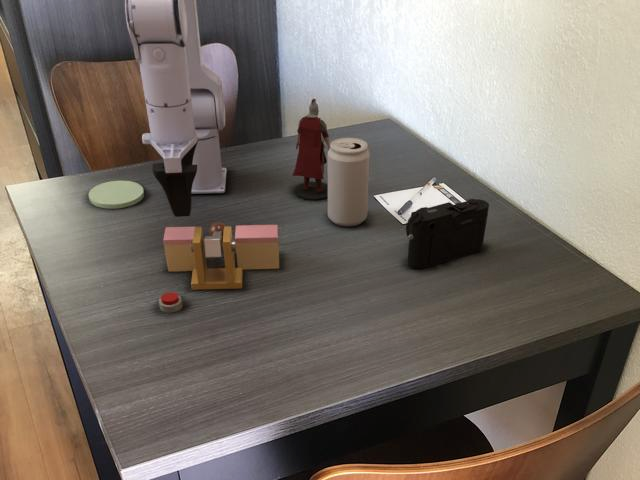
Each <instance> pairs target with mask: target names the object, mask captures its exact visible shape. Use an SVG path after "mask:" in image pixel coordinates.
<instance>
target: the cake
mask: <svg viewBox="0 0 640 480" xmlns="http://www.w3.org/2000/svg"><path fill="white" fill-rule="evenodd" d="M278 229H279V227H278V224H249V225H247V224H246V225H245V224H244V225H242V224H241V225H235V233H234V241H235V242H236V251H235V253H236V263H237V264H236V265H237V268H242V271H243V270H245V271H246V270H271V269H272V270H276V269H277V270H278V269H280V248H279V230H278Z"/></svg>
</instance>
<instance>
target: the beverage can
mask: <svg viewBox="0 0 640 480" xmlns="http://www.w3.org/2000/svg"><path fill="white" fill-rule="evenodd" d="M329 144H330V149H329V151H328V150H327V185H328V198H327V217H328V219H329V220H330V221H332V222H333V223H334V224H336V225H338V226H342V227H355V226H358V225H360V224H362V223H363V222H364V221H365V220H366V219H367V217H368V211H369V187H370V186H369V184H370V183H369V182H370V159H371V158H370V157H371V156H370V155H371V153H370V150H369V149H368V146H369V145H368V143H367V141H365V140H363V139H361V138H356V137H341V138H337V139H334V140H332V141H331V142H329Z"/></svg>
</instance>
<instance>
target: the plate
mask: <svg viewBox="0 0 640 480" xmlns="http://www.w3.org/2000/svg"><path fill="white" fill-rule="evenodd" d="M144 198H145V190H144V187H143V186H142V185H141V184H139V183H137V182H134V181H130V180H112V181H111V180H110V181H106V182H101V183H100V184H97V185H95V186H94V187H92V188H91V189H90V190H89V191H88V199H89V202H90V203H91V204H92V205H93V206H95V207H98V208H100V209H107V210H109V209H110V210H112V209H113V210H115V209H123V208H128V207H131V206H133V205H136V204H138V203H139V202H141V201H142V200H143V199H144Z"/></svg>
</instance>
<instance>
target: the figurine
mask: <svg viewBox="0 0 640 480" xmlns="http://www.w3.org/2000/svg"><path fill="white" fill-rule="evenodd" d="M319 112H320V111H319V105H318V103H317V100H316V99H315V98H313V99H311V102H310V104H309V106H308V114H306V115H305V116H303V117H301V119H299V121H298V126H297V127H298V128H297V131H296V132H297V135H296V142H295V150H298V153H297V157H296V162H295V167H294V170H293V172H292V175H291V176H293V177H303V183H301V184H299V185H297V186H295V188H294V194H295V196H297V198H300V199H303V200H304V201H321V200H326V199H328V183H324V182H322V180H324V179H325V178H324V175H325V164H328V159H327V158H326V157H327V156H326V152H325V149H326V146H327V152H328V151H329V149H330V138H329V137H330V136H329V133H328V127H327V123H326V122H325V121H324V120H323V119H322V118H321V117H319V116H318V115H319ZM325 143H326V145H325ZM310 179H314V180H315V181H310Z"/></svg>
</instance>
